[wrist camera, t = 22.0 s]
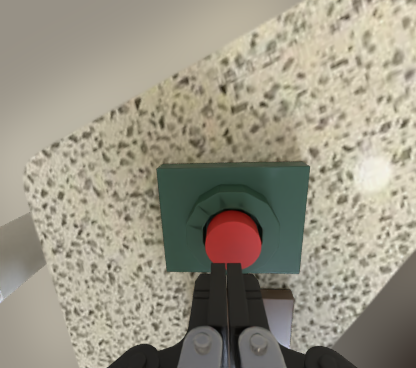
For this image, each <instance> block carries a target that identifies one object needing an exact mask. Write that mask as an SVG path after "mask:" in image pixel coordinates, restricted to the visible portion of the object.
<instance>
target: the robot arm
mask: <svg viewBox="0 0 416 368" xmlns="http://www.w3.org/2000/svg"><path fill="white" fill-rule="evenodd" d="M227 300H228V321H227ZM228 325H229V349H230V368H357V367H356V366H354V365H353V364H352V363H350V362H349V361H348V360H346V359H345V358H344V357H343V356H341V355H340V354H339V353H337V352H336V351H334V350H332V349H330V348H328V347H324V346H315V347H312V348H310V349H309V350H308V351H307V352H306V354H302V353H299V352H296V351H293V350H291V349H288V348H286V347H284V346H283V345H281V344H280V343H279V342H278V341H277V339H276V337H275V336H274V335H273V334H272V333H271V332H270V329H269V324H268V320H267V316H266V312H265V307H264V303H263V299H262V294H261V291H260V286H259V282H258V280H257V279H256V278H255V276H254V275H253V274H243V273H242V266H241V263H227V294H226V267H225V263H211V273H210V274H200V275H199V277H198V278H197V280H196V281H195V287H194V294H193V301H192V307H191V314H190V321H189V327H188V331H187V333H186V335H185V337H184V338H183V339H182V340H181V341H180V342H179V343H177V344H176V345H174V346H172V347H169V348H166V349H163V350H160V351H157V350H156V348H155V347H153V346H152V345H149V344H140V345H136V346H134V347H132V348H130V349H129V350H128V351H126V352H125V353H124V354H123V355H122V356H120V357H119V358H118V359H117V360H116V361H115V362H113V363H112V364H111V365H110V366H109V367H107V368H229V362H228Z"/></svg>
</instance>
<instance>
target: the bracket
mask: <svg viewBox="0 0 416 368" xmlns="http://www.w3.org/2000/svg"><path fill="white" fill-rule="evenodd" d="M260 291H261V294H262V299H263V303H264V307H265V312H266V316H267V320H268V324H269V329H270V332H271V333H272V334H273V335H274V336H275V337H276V339H277V341H278V342H279V343H280V344H281V345H283V346H284V347H286V348H288V349H290V340H291V330H292V319H293V309H294V297H293V294H292V292H291V290H280V289H260ZM193 294H194V292H193ZM226 294H227V288H226ZM227 321H228V300H227ZM228 362H229V368H230V349H229V325H228Z"/></svg>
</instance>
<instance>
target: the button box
mask: <svg viewBox="0 0 416 368" xmlns="http://www.w3.org/2000/svg"><path fill="white" fill-rule="evenodd" d="M156 170H157V180H158V190H159V199H160V209H161V219H162V229H163V239H164V249H165V259H166V268H167V272H211V263H213V262H212V261H211V260H210V259H209V257H208V255H207V253H206V250H205V241H206V234H207V228H208V225H209V223H210V221H211V220H212V219H213V218H214V217H215V216H216V215H218V214H219V213H221V212H224V211H230V210H235V211H240V212H243V213H245V214H247V215H248V216H250V217H251V218H252V219H253V221H254V222H255V224H256V226H257V229H258V233H259V236H260V239H261V252H260V255H259V257H258V258H257V260H256V261H255V262H254V263H253V264H252V265H250V266H249V267H247V268H244V269H242V273H243V274H248V273H275V274H299V271H300V262H301V252H302V242H303V232H304V222H305V212H306V202H307V192H308V182H309V172H310V166H309V165H307V164H305V163H304V162H302V161H299V162H245V163H190V164H162V165H161V166H159V167H158V168H157V169H156ZM226 275H227V270H226Z"/></svg>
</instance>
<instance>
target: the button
mask: <svg viewBox="0 0 416 368" xmlns="http://www.w3.org/2000/svg"><path fill="white" fill-rule="evenodd" d="M205 250H206V253H207V255H208V257H209V259H210V260H211V261H212V262H213V263H225V267H226V270H227V263H241V266H242V269H244V268H247V267H249V266H250V265H252V264H253V263H254V262H255V261H256V260H257V258H258V257H259V255H260V252H261V239H260V236H259V233H258V229H257V226H256V224H255V222H254V221H253V219H252V218H251V217H250V216H248V215H247V214H245V213H243V212H240V211H235V210H230V211H224V212H221V213H219V214H218V215H216V216H215V217H214V218H213V219H212V220H211V221H210V223H209V225H208V228H207V234H206V241H205Z"/></svg>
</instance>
